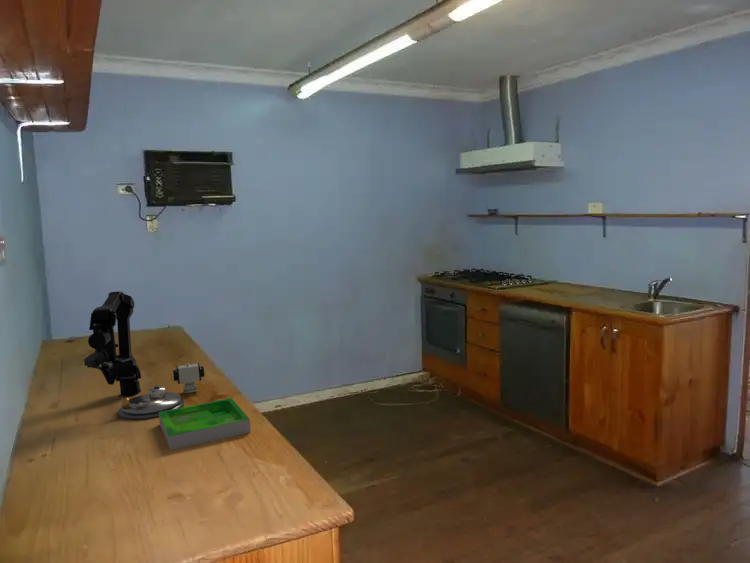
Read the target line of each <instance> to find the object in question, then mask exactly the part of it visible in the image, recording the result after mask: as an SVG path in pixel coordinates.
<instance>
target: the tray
mask: <svg viewBox="0 0 750 563" xmlns="http://www.w3.org/2000/svg"><path fill="white" fill-rule="evenodd" d="M158 418H159V419H158V420H159V425H160V428H161V431H162V432H163V435H164V437H165V441H166V442H167V445H168V447H169V450H170V451H172V450H176V449H177V450H178V449H181V448H185V447H190V446H195V445H199V444H204V443H208V442H213V441H217V440H222V439H226V438H231V437H235V436H239V435H240V436H241V435H244V434H248V433H251V432H252V430H251V421H250V420H251V419H250V418H249V417H248V415H247V413H245V412H244V410H243V409H241V407H240V406H239V405H238V404H237V403H236V401H235V400H234V399H233V398H231V397H229V398H224V399H218V400H214V401H209V402H208V401H207V402H202V403H199V404H192V405H188V406H187V405H186V406H183V407H182V408H177V409H172V410H166V411H161V412H159V417H158Z"/></svg>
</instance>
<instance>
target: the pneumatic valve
mask: <svg viewBox="0 0 750 563" xmlns="http://www.w3.org/2000/svg"><path fill="white" fill-rule="evenodd" d="M172 374H173V381H174V382H177V384H178V385H181V384H184V385H183V386H182V387H183V388H182V390H183V392H184V393H185V394H193V393H196V391H198V385H197V384H196V382H201V381H202V378H204V377H205V368H204V365H201V364H200V363H199V362H198V363H191V364H190V362H187V363H186V364H184V365H177V366H176V368H175V369H173V370H172Z"/></svg>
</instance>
